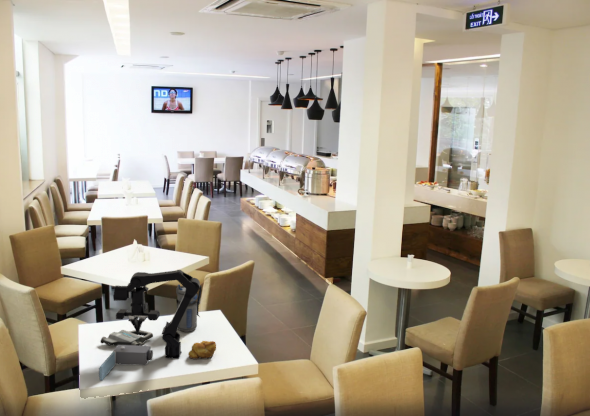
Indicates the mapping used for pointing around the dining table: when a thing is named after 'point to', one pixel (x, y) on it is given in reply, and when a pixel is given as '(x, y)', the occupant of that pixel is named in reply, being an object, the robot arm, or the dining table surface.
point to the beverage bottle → (188, 310)
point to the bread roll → (202, 350)
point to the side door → (107, 365)
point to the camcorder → (127, 338)
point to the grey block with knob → (133, 354)
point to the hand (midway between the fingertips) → (138, 332)
